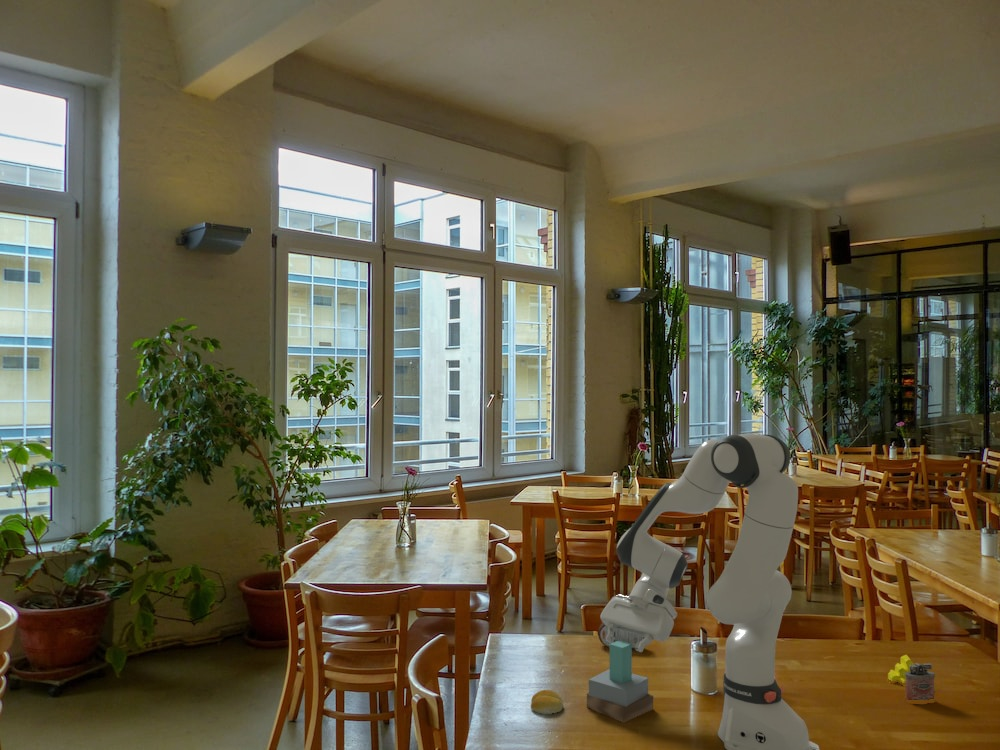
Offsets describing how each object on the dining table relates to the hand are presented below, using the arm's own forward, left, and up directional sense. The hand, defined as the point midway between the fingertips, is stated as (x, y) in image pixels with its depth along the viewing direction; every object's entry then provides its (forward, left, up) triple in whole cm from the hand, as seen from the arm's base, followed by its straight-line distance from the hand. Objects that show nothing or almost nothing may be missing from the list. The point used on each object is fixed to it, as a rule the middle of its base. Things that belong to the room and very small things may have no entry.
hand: (622, 645), depth 200 cm
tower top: (+1, +1, -12) cm, 12 cm away
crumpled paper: (-41, -74, -16) cm, 87 cm away
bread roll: (+13, +15, -16) cm, 25 cm away
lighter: (-50, -63, -16) cm, 82 cm away
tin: (+29, -37, -16) cm, 50 cm away
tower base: (0, +1, -16) cm, 16 cm away
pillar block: (0, +1, -8) cm, 8 cm away
